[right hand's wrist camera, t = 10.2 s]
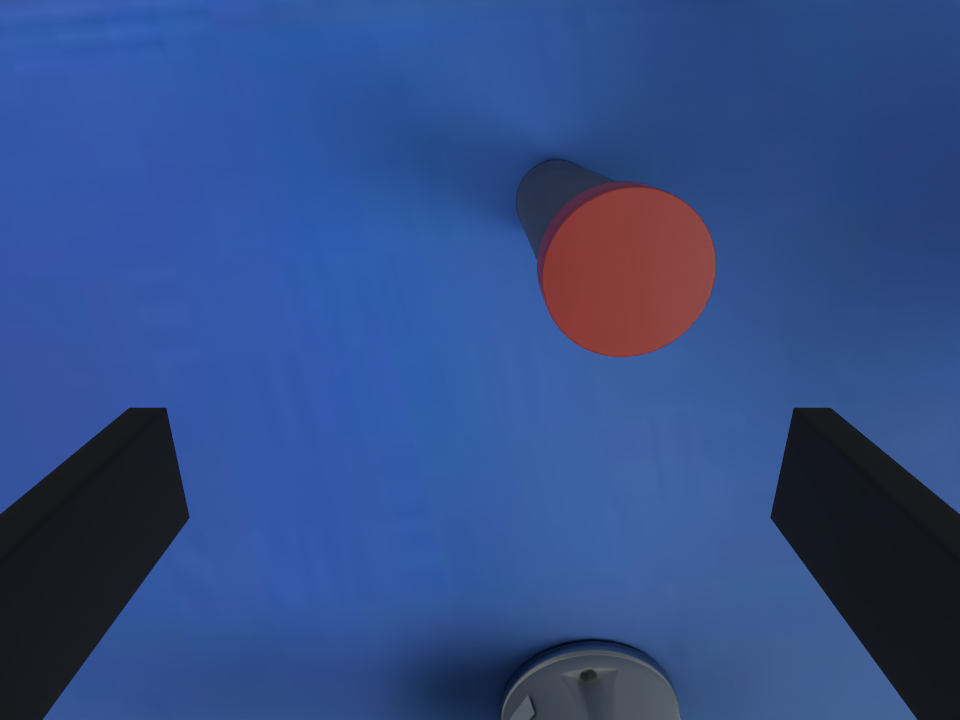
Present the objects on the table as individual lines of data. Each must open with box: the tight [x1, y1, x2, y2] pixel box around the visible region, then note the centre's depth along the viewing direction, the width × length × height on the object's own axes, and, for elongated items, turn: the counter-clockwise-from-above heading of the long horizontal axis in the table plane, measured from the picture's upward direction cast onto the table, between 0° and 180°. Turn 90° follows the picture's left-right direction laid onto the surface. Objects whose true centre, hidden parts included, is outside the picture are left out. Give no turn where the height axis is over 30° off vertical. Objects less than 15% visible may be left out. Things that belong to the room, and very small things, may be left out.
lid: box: [537, 182, 716, 357], centre depth 20 cm, size 6×6×2 cm
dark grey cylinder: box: [516, 160, 616, 260], centre depth 29 cm, size 5×5×20 cm
